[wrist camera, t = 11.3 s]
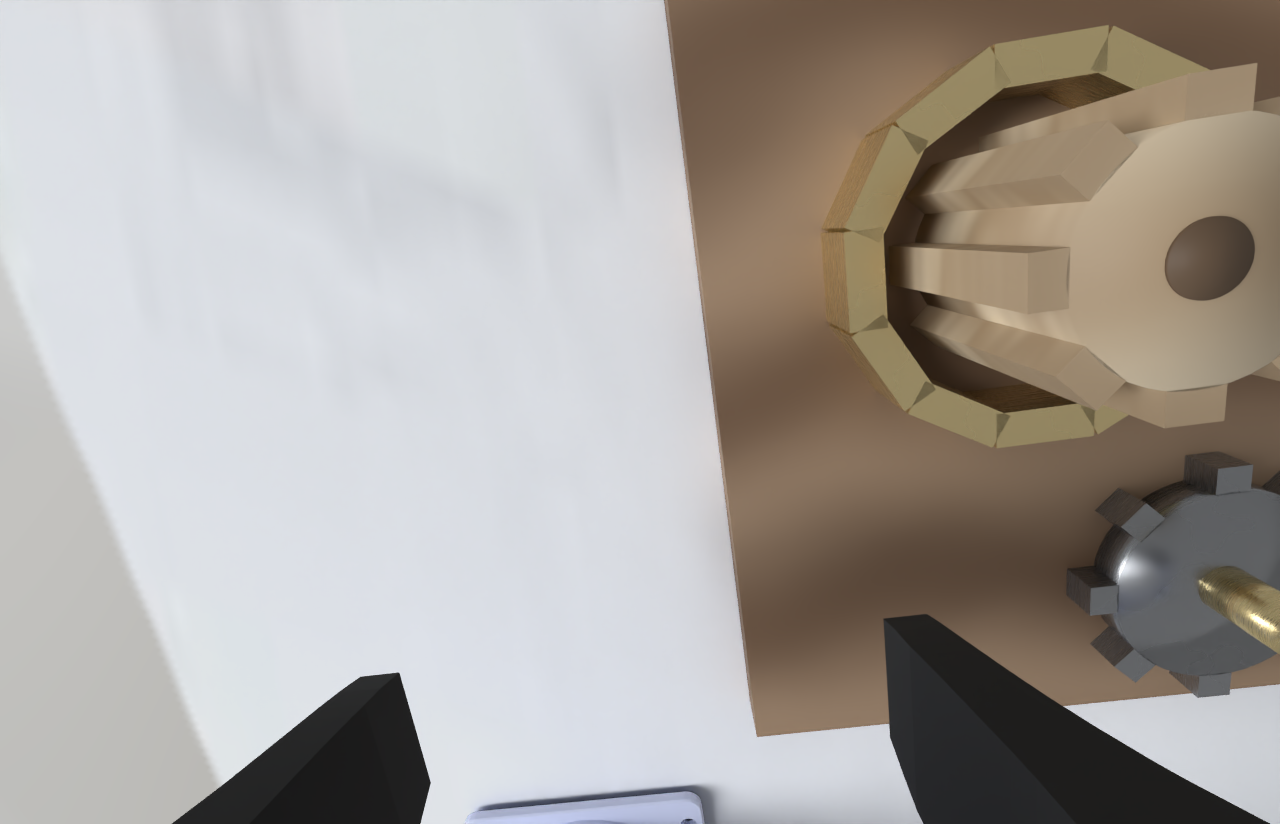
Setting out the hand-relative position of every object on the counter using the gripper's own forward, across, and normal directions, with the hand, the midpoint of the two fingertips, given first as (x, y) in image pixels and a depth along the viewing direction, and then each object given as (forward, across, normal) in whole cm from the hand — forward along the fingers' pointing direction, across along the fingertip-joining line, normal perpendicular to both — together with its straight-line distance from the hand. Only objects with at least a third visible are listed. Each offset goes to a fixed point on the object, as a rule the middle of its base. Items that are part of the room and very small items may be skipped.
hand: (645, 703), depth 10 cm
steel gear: (+8, -14, +4) cm, 17 cm away
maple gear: (+8, -9, -5) cm, 13 cm away
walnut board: (+9, -10, -2) cm, 14 cm away
